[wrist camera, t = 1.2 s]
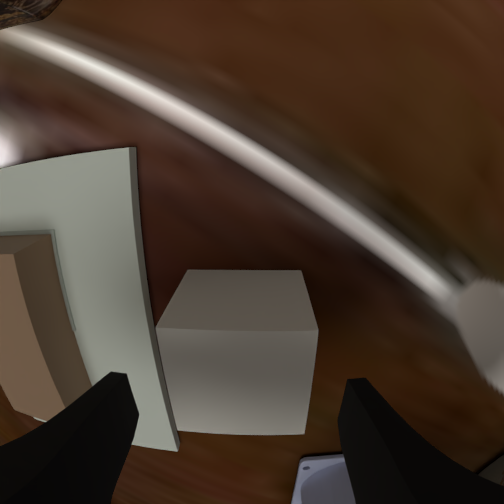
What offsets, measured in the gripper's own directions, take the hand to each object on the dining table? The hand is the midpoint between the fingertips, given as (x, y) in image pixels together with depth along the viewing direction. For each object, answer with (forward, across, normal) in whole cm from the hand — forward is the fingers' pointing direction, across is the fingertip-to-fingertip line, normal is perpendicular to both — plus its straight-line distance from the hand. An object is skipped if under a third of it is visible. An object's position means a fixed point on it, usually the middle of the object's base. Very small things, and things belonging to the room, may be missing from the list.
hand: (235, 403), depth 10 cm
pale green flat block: (+6, +10, +1) cm, 12 cm away
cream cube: (+6, 0, 0) cm, 6 cm away
